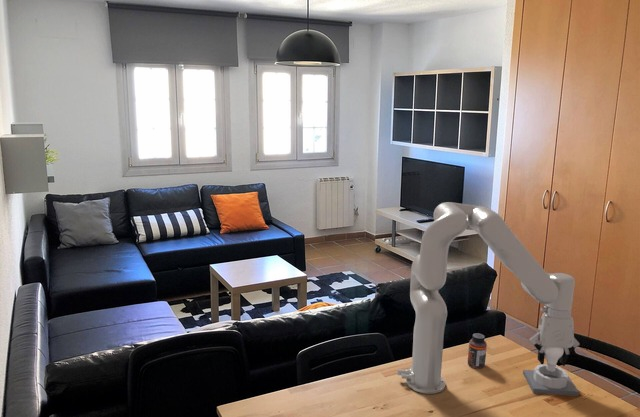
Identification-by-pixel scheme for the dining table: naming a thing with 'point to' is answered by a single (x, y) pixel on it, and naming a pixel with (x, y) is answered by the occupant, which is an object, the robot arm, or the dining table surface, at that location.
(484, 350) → the supplement bottle
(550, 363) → the lightbulb
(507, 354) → the dining table surface
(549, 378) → the socket holder
